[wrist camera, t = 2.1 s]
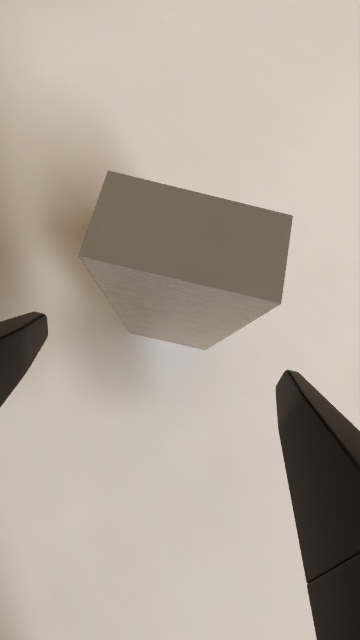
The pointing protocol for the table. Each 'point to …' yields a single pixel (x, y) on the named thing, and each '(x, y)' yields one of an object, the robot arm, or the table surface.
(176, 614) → the table surface
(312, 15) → the table surface
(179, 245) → the gray rectangular block
